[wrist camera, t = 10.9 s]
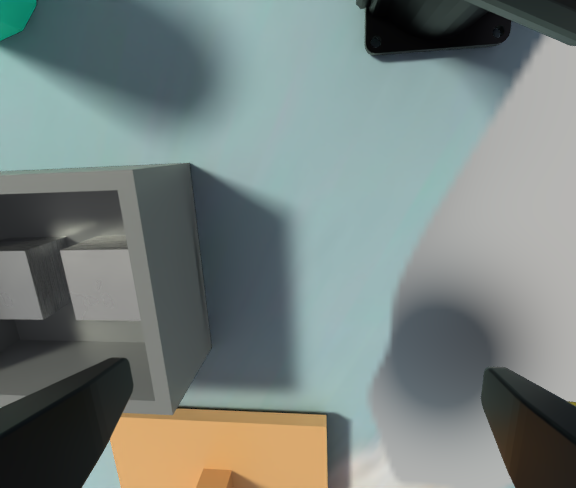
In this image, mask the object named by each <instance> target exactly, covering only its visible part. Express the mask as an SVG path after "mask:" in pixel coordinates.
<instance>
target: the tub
mask: <svg viewBox="0 0 576 488" xmlns="http://www.w3.org/2000/svg"><path fill="white" fill-rule="evenodd" d="M123 235H126V241H127V246H128V252H129V257H130V263H131V269H132V274H133V280H134V285H135V291H136V296H137V302H138V307H139V313H140V319H141V321H110V320H76V317H75V313H74V309H73V304H72V302H71V303H70V304H68V305H66V306H65V307H63V308H62V309H60V310H58V311H57V312H55V313H53V314H52V315H50V316H48V317H47V318H45V319H43V320H27V319H0V407H3V406H5V405H8V404H10V403H12V402H14V401H16V400H19V399H21V398H23V397H25V396H27V395H30V394H32V393H34V392H36V391H38V390H40V389H43V388H45V387H47V386H49V385H51V384H54V383H56V382H58V381H60V380H62V379H65V378H67V377H69V376H71V375H73V374H75V373H78V372H80V371H82V370H84V369H86V368H89V367H91V366H93V365H95V364H97V363H100V362H102V361H104V360H106V359H108V358H111V357H125V358H127V359H128V360H129V363H130V368H131V373H132V378H133V384H134V387H133V392H132V395H131V397H130V399H129V401H128V403H127V405H126V407H125V409H124V411H123V413H136V414H158V415H173V414H174V412H175V411H176V409H177V407H178V406H179V404H180V402H181V400H182V399H183V397H184V395H185V393H186V392H187V390H188V388H189V386H190V385H191V383H192V381H193V379H194V378H195V376H196V374H197V372H198V371H199V369H200V367H201V366H202V364H203V362H204V360H205V359H206V357H207V355H208V353H209V352H210V350H211V348H212V345H211V337H210V329H209V321H208V312H207V304H206V296H205V287H204V279H203V271H202V263H201V254H200V246H199V238H198V229H197V221H196V213H195V205H194V196H193V188H192V180H191V172H190V163H177V164H155V165H133V166H111V167H88V168H66V169H44V170H22V171H0V240H2V239H5V238H20V237H67V241H68V245H69V247H70V246H72V245H75V244H78V243H80V242H83V241H85V240H88V239H91V238H93V237H96V236H123Z"/></svg>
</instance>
